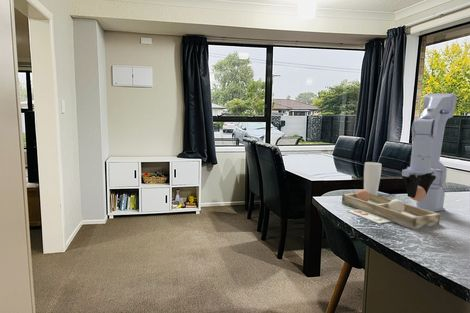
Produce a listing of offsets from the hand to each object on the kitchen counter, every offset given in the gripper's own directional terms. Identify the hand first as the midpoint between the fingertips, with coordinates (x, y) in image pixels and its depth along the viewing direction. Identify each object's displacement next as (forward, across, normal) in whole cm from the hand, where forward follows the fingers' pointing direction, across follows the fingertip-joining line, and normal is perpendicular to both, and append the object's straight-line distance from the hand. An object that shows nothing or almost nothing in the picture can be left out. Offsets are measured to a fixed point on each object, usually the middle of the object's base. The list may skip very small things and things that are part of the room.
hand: (416, 196), depth 107 cm
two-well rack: (+9, 0, -11) cm, 14 cm away
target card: (+9, +10, -10) cm, 17 cm away
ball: (+5, 0, -22) cm, 23 cm away
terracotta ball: (-1, 0, 0) cm, 1 cm away
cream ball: (+5, 0, -7) cm, 9 cm away
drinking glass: (+9, -12, -29) cm, 33 cm away
